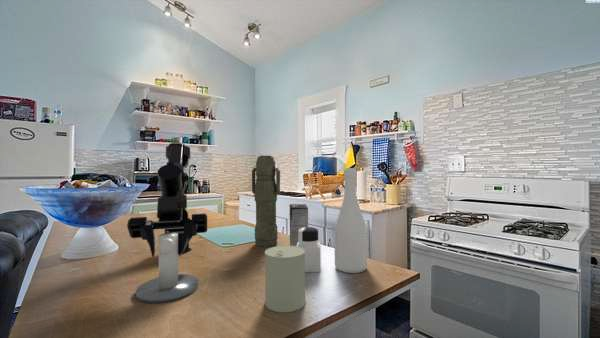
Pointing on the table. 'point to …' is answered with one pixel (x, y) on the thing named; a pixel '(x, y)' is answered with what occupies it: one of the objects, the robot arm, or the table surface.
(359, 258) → the wine bottle
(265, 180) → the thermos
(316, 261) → the medicine bottle
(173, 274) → the duct elbow
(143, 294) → the flange plate
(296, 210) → the coffee box
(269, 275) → the can
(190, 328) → the table surface
